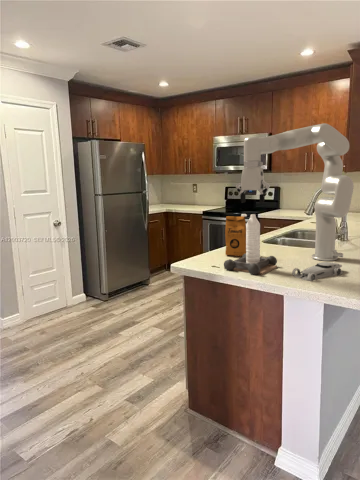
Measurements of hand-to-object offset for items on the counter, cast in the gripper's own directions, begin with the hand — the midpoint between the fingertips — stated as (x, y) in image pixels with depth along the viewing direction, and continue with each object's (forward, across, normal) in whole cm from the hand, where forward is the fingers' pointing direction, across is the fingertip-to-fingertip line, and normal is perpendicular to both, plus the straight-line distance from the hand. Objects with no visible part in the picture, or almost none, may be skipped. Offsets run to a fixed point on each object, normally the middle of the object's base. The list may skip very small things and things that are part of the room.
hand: (252, 202), depth 164 cm
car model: (+32, -30, -6) cm, 44 cm away
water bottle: (+30, 0, +1) cm, 30 cm away
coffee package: (+32, +20, -19) cm, 42 cm away
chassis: (+31, 0, +1) cm, 31 cm away
